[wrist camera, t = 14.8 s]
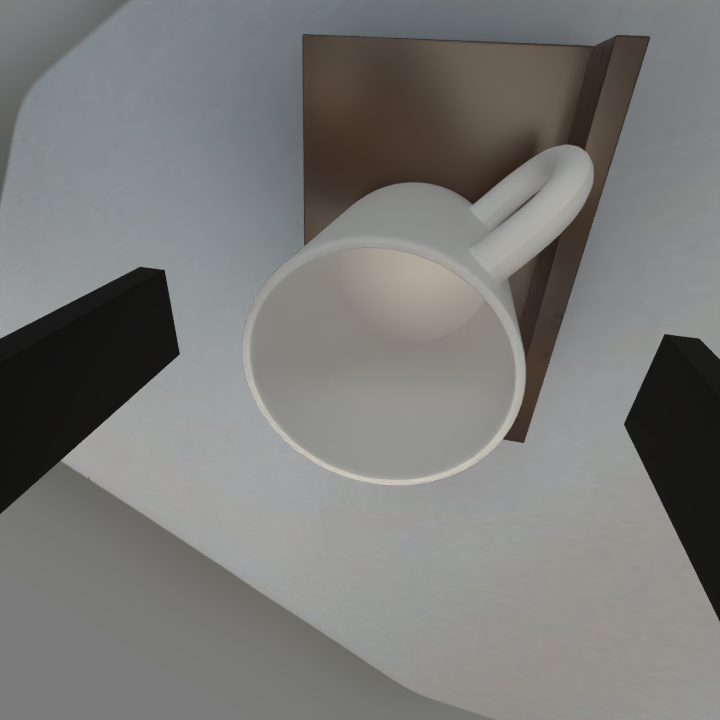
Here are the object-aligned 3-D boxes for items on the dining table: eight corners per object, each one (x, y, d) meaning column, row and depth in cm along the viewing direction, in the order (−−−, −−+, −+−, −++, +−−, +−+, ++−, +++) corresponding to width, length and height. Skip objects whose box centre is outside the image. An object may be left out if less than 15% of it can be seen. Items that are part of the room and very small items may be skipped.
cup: (297, 266, 23) (193, 365, 14) (486, 55, 17) (505, 4, 8) (410, 374, 24) (378, 521, 16) (617, 215, 19) (745, 311, 10)
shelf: (334, 47, 22) (274, 22, 15) (590, 59, 20) (651, 36, 13) (328, 335, 30) (287, 402, 23) (511, 362, 28) (524, 443, 22)
